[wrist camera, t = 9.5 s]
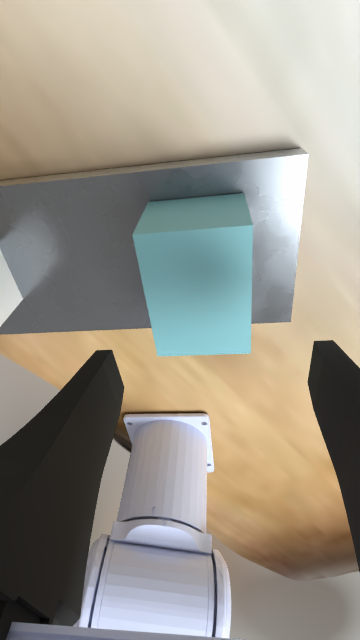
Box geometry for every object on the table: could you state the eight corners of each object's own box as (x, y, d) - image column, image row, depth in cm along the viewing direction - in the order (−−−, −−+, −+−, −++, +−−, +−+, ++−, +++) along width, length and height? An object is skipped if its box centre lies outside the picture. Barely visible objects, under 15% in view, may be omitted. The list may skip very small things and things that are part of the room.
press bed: (286, 308, 23) (300, 353, 19) (-54, 325, 26) (-96, 365, 22) (301, 147, 17) (326, 168, 13) (-141, 195, 20) (-217, 222, 17)
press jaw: (243, 306, 21) (250, 353, 17) (166, 310, 22) (157, 356, 18) (244, 192, 17) (252, 225, 13) (148, 201, 17) (132, 234, 14)
